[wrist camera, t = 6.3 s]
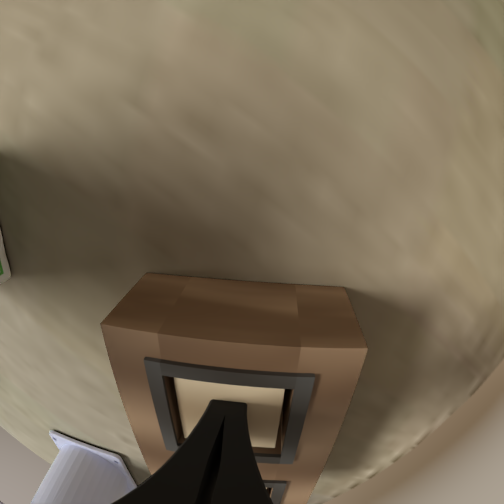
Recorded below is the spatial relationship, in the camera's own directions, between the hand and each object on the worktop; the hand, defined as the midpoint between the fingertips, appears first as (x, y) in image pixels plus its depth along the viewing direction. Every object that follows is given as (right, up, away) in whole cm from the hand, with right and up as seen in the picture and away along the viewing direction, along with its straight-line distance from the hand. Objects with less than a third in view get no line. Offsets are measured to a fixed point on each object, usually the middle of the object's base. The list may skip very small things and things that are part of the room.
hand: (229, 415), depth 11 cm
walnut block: (0, -2, +5) cm, 6 cm away
